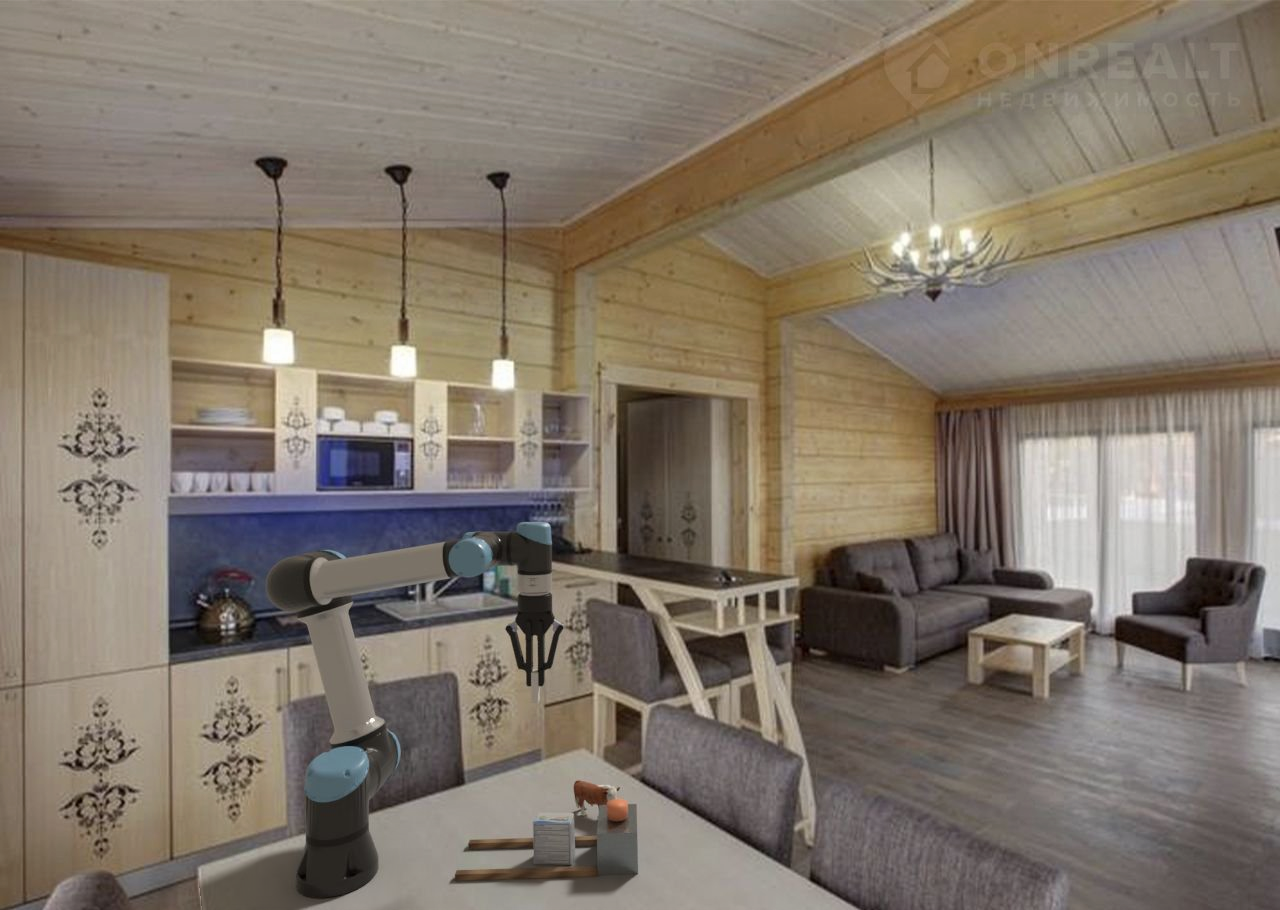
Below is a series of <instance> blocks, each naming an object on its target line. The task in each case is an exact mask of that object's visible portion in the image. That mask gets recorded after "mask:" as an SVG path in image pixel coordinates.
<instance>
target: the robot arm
mask: <svg viewBox="0 0 1280 910" xmlns="http://www.w3.org/2000/svg"><path fill="white" fill-rule="evenodd" d="M552 561H553V541H552V527H551V525H550V524H549V523H548V522H545V521H523V522H519V523H517V526H516V529H515V530H514V531H482V530H478V531H469V532H466V533H464V534H463V536H462V538H461V539H460V538H459V539H453V540H449V541H448V540H447V541H442V542H437V543H430V544H424V545H419V546H413V547H407V548H406V547H405V548H401V549H393V550H388V551H382V552H375V553H369V554H364V555H356V556H351V557H346V556H345V555H344V554H342V553H340V552H338V551H335V550H332V549H317V550H312V551H310V552H305V553H302V554H297V555H292V556H289V557H285V558H283V559H282V560H279V561H278V562H277V563H276V564H275V565H274V566H272V568H271V569H270V571H269V572H268V574H267V577H266V580H265V585H264V586H265V589H264V590H265V592H266V596H267V598H268V600H269V601H270V603H271V604H272V605H273V606H275V607H276V608H277V609H279V610H281V611H285V612H288V613H295V615H296V618H297V621H299V622H301V623H304V624H305V625H306V626H307V629H308V633H309V636H310V638H309V639H310V641H311V645H312V649H313V652H314V656H315V661H316V664H317V669H318V672H319V676H320V679H321V683H322V686H323V691H324V694H325V699H326V702H327V706H328V709H329V713H330V718H331V721H332V725H333V729H334V731H333V734H331V738H330V739H329V743H330V745H329V746H330V749H329V751H328V752H327V751H324V752H322V753H321V754H318V755H317V756H315V757H314V758H313V759H312V760H311V761H310V763H309V764H308V766H307V767H306V771H305V780H304V784H303V789H304V805H305V807H304V811H305V812H304V813H305V814H304V816H305V818H304V819H305V845H304V847H303V851H302V854H301V857H300V860H299V864H298V867H297V870H296V874H295V876H296V877H295V886H296V890H297V891H298V892H299V893H300V894H301V895H303V896H306V897H309V898H316V899H318V898H319V899H321V898H332V897H337V896H341V895H346V894H347V893H350V892H353V891H355V890H358V889H359V888H361V887H363V886H364V885H366V884H368V883H369V882H370V881H371V880H372V879H374V877H375V876H376V874H377V873H378V871H379V853H378V851H377V847H376V845H375V842H374V840H373V837H372V835H371V832H370V823H369V819H370V816H369V814H370V813H369V807H370V804H369V802H370V801H371V799H372V798H373V797H374V796H375V795H376V793H377V792H378V791H379V790H380V789H381V788H383V787H382V786H383V785H385V784H387V782H389V780H390V779H391V778H392V777H393V774H395V771H396V769H397V767H398V766H399V762H400V760H401V755H402V753H401V744H400V742H399V739H398V736H396V734H395V733H394V732H392V731H390V730H389V729H388V728H387V726H386V725H387V724H386V720H385V719H384V718H382V717H380V716H377V715H376V712H375V709H374V705H373V704H374V703H373V702H372V696H371V693H370V690H369V685H368V683H367V678H366V675H365V670H364V668H363V667H364V666H363V664H362V660H361V656H360V653H359V649H358V645H357V641H356V637H355V634H354V629H353V626H352V621H351V618H350V615H349V612H350V611H349V610H350V609H351V607H352V606H353V604H354V600H353V597H352V596H355V595H359V594H366V593H372V592H376V591H377V592H378V591H383V590H390V589H395V588H402V587H406V586H408V587H409V586H413V585H420V584H425V583H430V582H435V581H436V582H437V581H443V580H448V579H455V578H456V579H457V578H473V577H478V576H481V575H482V574H484V573H485V572H486V571H487V570H489V569H491V568H493V567H502V566H503V567H504V566H505V567H506V566H508V567H509V566H510V567H512V566H514V567H515V566H516V567H517V568H516V569H517V592H518V595H517V614H516V616H515V620H514V621H512V622H511V623H508V624H507V625H506V626H505V629H504V630H505V632H507V634H508V636H509V638H510V642H511V646H512V650H513V653H514V659H515V661H516V665H517V669H518V670H523V671H525V675H526V676H525V678H526V680H525V682H526V683H525V684H526V686H527V687H530V690H531V691H530V695H531V696H530V701H531V704H539V702H540V700H541V691H540V690H541V689H540V688H541V687H544V685H545V679H546V678H545V677H546V676H545V671H546V670H551V668H552V666H553V663H554V660H555V656H556V652H557V646H558V644H559V643H558V642H559V638H560V635H561V634H562V632H563V630H564V628H565V623H563V622H559V621H558V620H556V618H555V615H554V613H553V594H552V593H551V591H552V590H553V569H552V568H553V567H552V566H553V562H552ZM551 626H552V631H553V632H554V633H553V636H552V639H551V644H550V648H549V651H548V652H549V653H548V657H547V661H546V660H545V659H546V657H545V654H546V651H545V650H546V648H545V644H546V643H545V641H546V640H545V638H546V637H545V636H546V633H547V632H548V630H549V629H550V628H551ZM518 627H519V628H518ZM519 629H520V630H521V632H522V633H523V634H524V635H525V637H524V638H525V658H524V655H523V650H522V646H521V642H520V638H519V635H518V632H517V631H518V630H519ZM534 636H536V640H537V668H536V669H535V668H533V667H534ZM545 661H546V662H545Z"/></svg>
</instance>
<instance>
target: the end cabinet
mask: <svg viewBox="0 0 1280 910" xmlns="http://www.w3.org/2000/svg"><path fill="white" fill-rule="evenodd" d="M637 809H638V807H637V803H628V817H627V818H626V819H625V820H622V821H611V820H609V819H608V818H607V805H599V808H598V816H597V829H596V836H597V845H596V853H597V856H596V859H597V861H596V862H597V865H596V866H597V867H598V876H600V875H601V876H602V875H603V876H604V875H605V876H606V875H632V874H636V875H637V874H639V863H638V861H639V855H638V853H639V852H638V811H637Z"/></svg>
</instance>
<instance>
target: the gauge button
mask: <svg viewBox="0 0 1280 910" xmlns="http://www.w3.org/2000/svg"><path fill="white" fill-rule="evenodd" d="M628 804H629V802H628V801H627V800H625V799H624V798H617V799H613V800H610V801H608V802H607V818H608V819H609V820H611V821H622V820H625V819H626V818H627V817H628Z"/></svg>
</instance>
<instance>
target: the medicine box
mask: <svg viewBox="0 0 1280 910" xmlns="http://www.w3.org/2000/svg"><path fill="white" fill-rule="evenodd" d="M532 833H533V835H532V838H533V845H534V847H533V864H534V865H562V866H563V865H565V866H567V865H568V866H569V865H571V866H572V864H573V861H574V858H575V855H576V846H575V837H576V835H575V833H576V832H575V813H573V812H538V813H537V814H536V816H535V818H534V820H533V823H532Z"/></svg>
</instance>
